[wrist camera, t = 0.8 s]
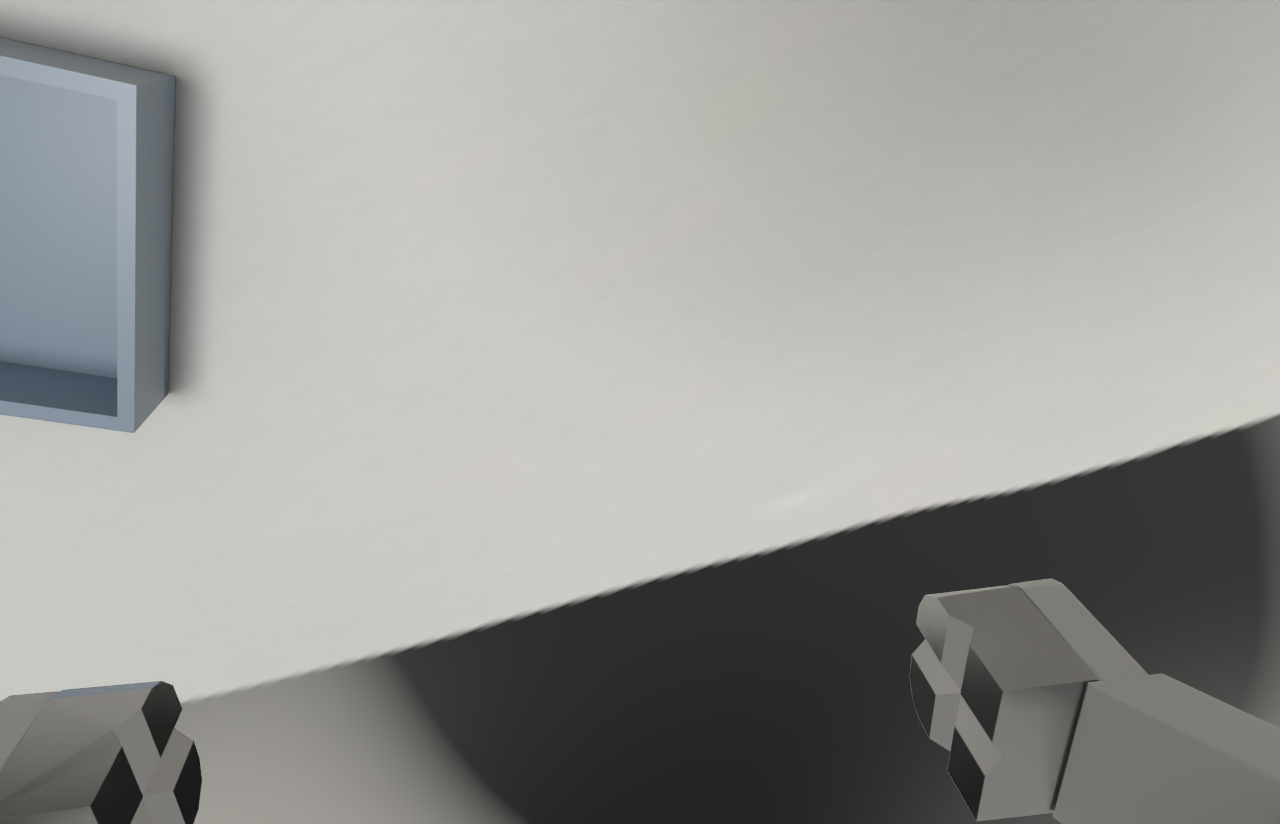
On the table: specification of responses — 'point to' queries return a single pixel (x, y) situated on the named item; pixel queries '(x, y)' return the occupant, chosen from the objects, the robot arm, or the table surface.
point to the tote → (84, 237)
